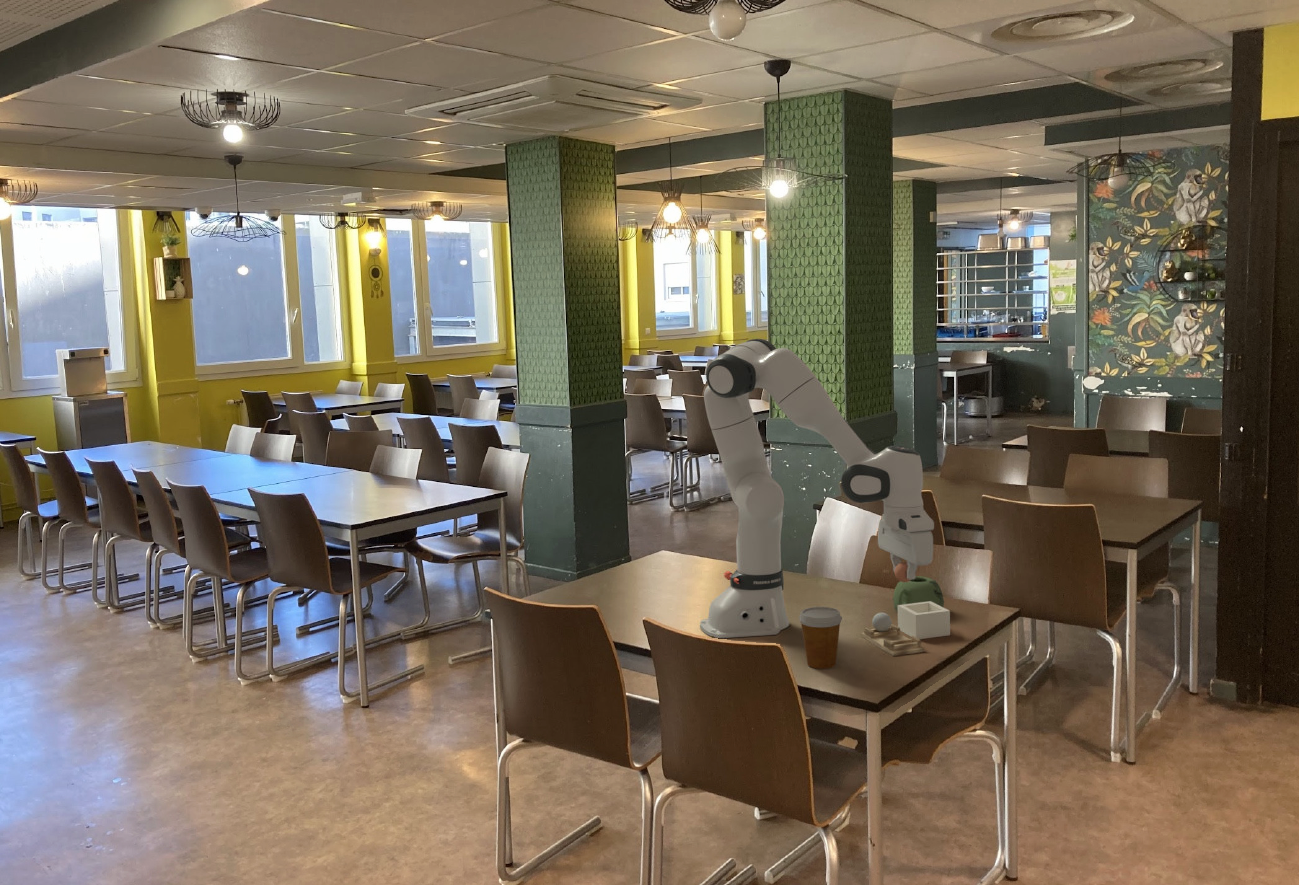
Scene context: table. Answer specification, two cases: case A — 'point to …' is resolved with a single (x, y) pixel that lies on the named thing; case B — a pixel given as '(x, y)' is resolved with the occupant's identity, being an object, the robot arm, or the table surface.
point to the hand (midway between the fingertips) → (904, 575)
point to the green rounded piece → (917, 592)
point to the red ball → (901, 572)
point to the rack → (893, 641)
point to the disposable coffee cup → (820, 635)
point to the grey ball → (882, 622)
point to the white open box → (924, 620)
